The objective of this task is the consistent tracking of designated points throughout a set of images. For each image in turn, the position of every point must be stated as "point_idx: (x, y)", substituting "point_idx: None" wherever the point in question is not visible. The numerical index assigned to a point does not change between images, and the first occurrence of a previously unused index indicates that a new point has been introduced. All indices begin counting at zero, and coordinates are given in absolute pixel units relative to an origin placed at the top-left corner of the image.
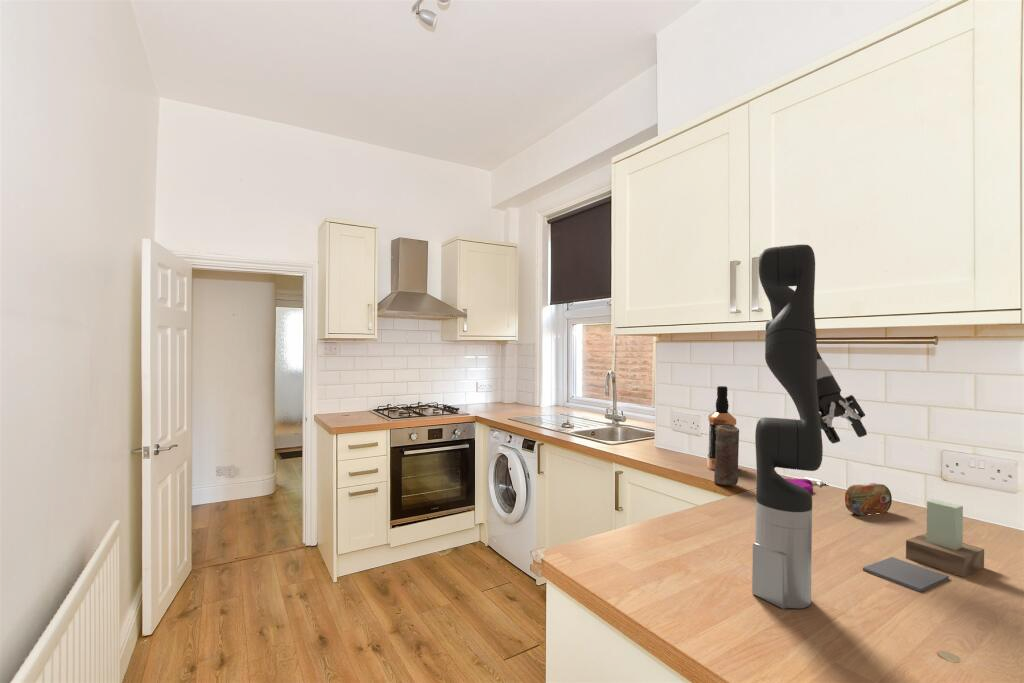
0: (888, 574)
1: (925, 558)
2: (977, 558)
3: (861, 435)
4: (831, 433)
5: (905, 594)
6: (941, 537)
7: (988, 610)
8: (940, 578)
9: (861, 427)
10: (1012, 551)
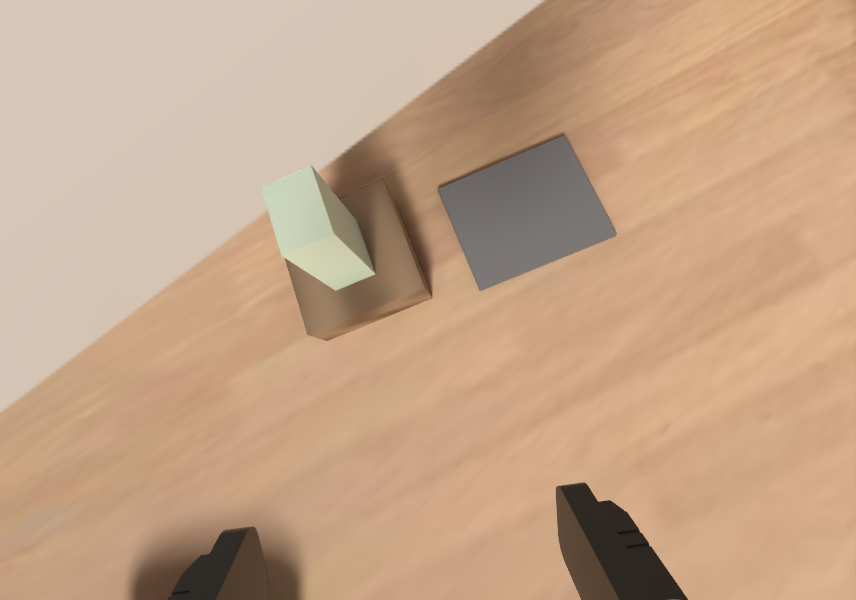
0: (580, 197)
1: (415, 257)
2: None
3: (258, 561)
4: (639, 554)
5: (607, 130)
6: (358, 237)
7: (491, 79)
8: (469, 178)
9: (218, 585)
10: (130, 319)
